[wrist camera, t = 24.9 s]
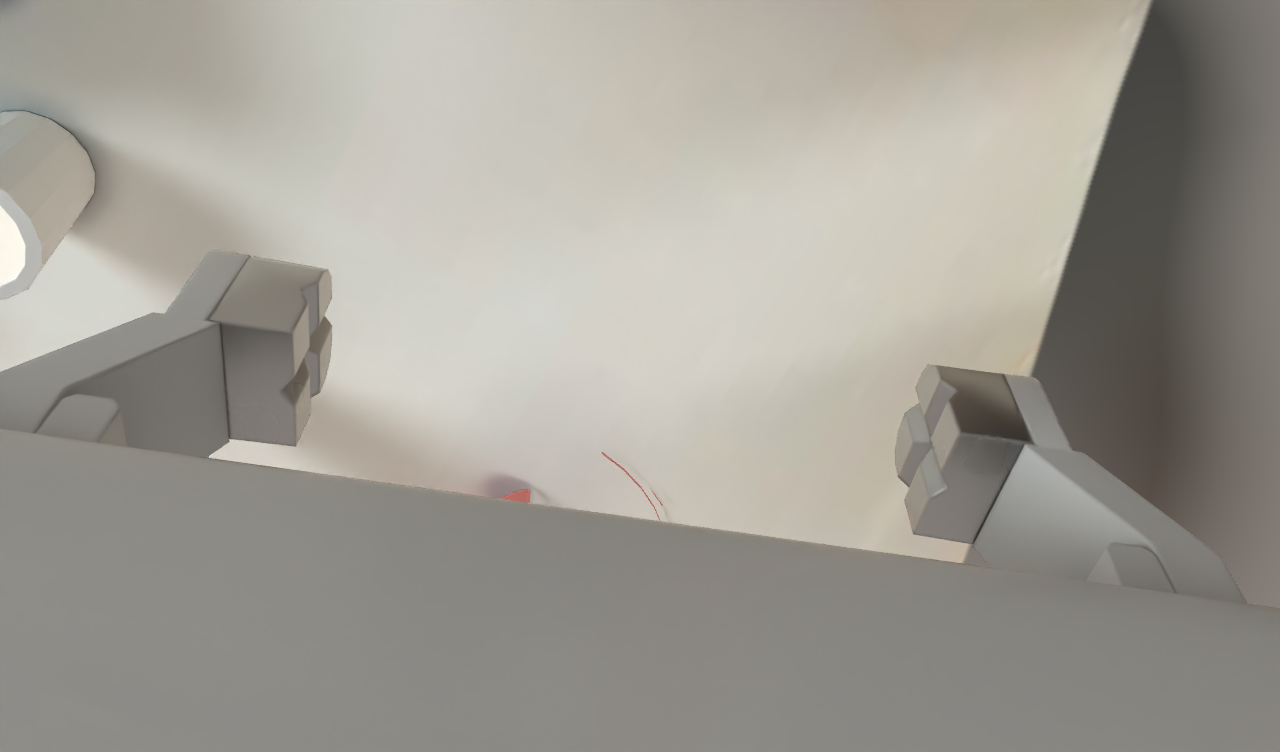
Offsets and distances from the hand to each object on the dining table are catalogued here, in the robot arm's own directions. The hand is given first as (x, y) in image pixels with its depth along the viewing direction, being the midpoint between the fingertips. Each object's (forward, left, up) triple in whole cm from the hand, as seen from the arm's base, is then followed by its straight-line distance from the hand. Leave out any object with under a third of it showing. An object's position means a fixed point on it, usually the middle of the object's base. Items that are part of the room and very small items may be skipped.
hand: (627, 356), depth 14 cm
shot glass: (-12, -31, -35) cm, 48 cm away
